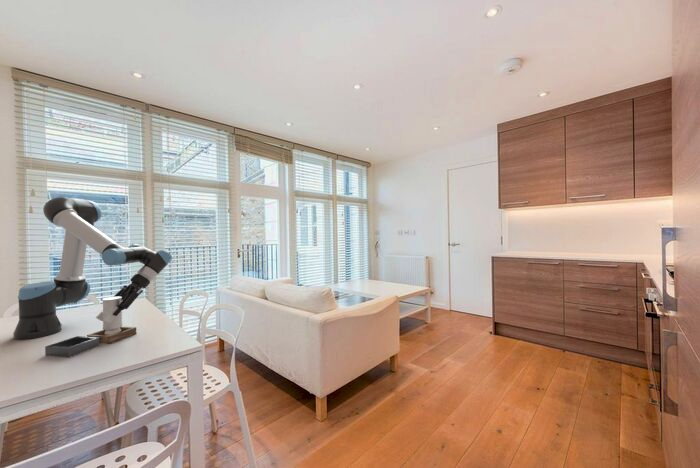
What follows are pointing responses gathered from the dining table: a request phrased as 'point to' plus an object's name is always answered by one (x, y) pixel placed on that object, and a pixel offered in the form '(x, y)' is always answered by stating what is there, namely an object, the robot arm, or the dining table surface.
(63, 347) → the shallow grey tray
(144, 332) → the dining table surface
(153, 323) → the dining table surface
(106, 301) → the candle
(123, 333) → the tray
